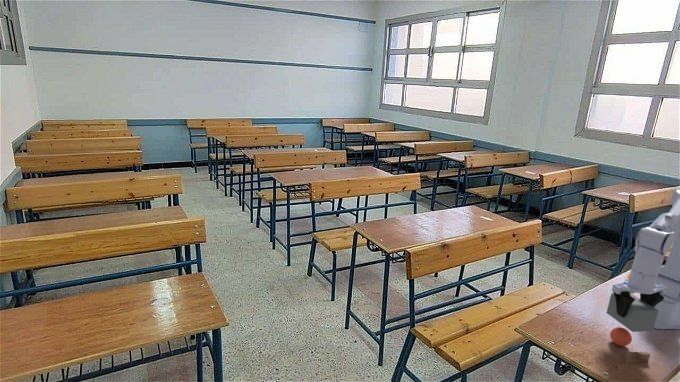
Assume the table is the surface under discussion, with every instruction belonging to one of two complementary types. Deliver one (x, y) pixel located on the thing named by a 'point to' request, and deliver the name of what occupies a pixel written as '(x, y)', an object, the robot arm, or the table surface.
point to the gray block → (635, 315)
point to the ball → (620, 336)
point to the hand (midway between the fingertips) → (631, 315)
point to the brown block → (637, 357)
